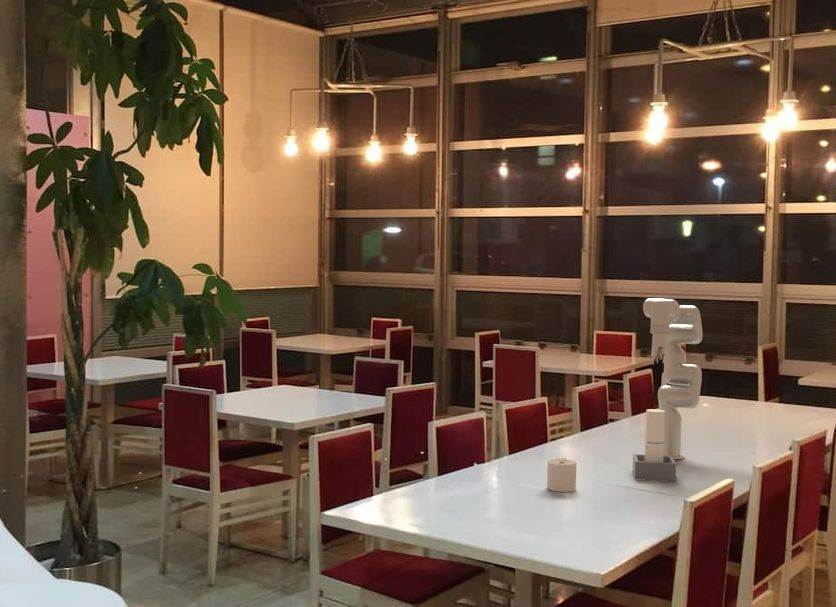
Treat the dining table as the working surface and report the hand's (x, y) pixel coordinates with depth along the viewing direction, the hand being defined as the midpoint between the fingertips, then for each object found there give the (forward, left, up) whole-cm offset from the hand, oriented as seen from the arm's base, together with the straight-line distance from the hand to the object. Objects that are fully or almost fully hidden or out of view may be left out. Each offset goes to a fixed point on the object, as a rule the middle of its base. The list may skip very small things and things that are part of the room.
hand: (658, 371), depth 389 cm
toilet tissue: (+44, -38, -40) cm, 71 cm away
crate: (+14, -2, -40) cm, 43 cm away
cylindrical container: (+14, -2, -39) cm, 42 cm away
